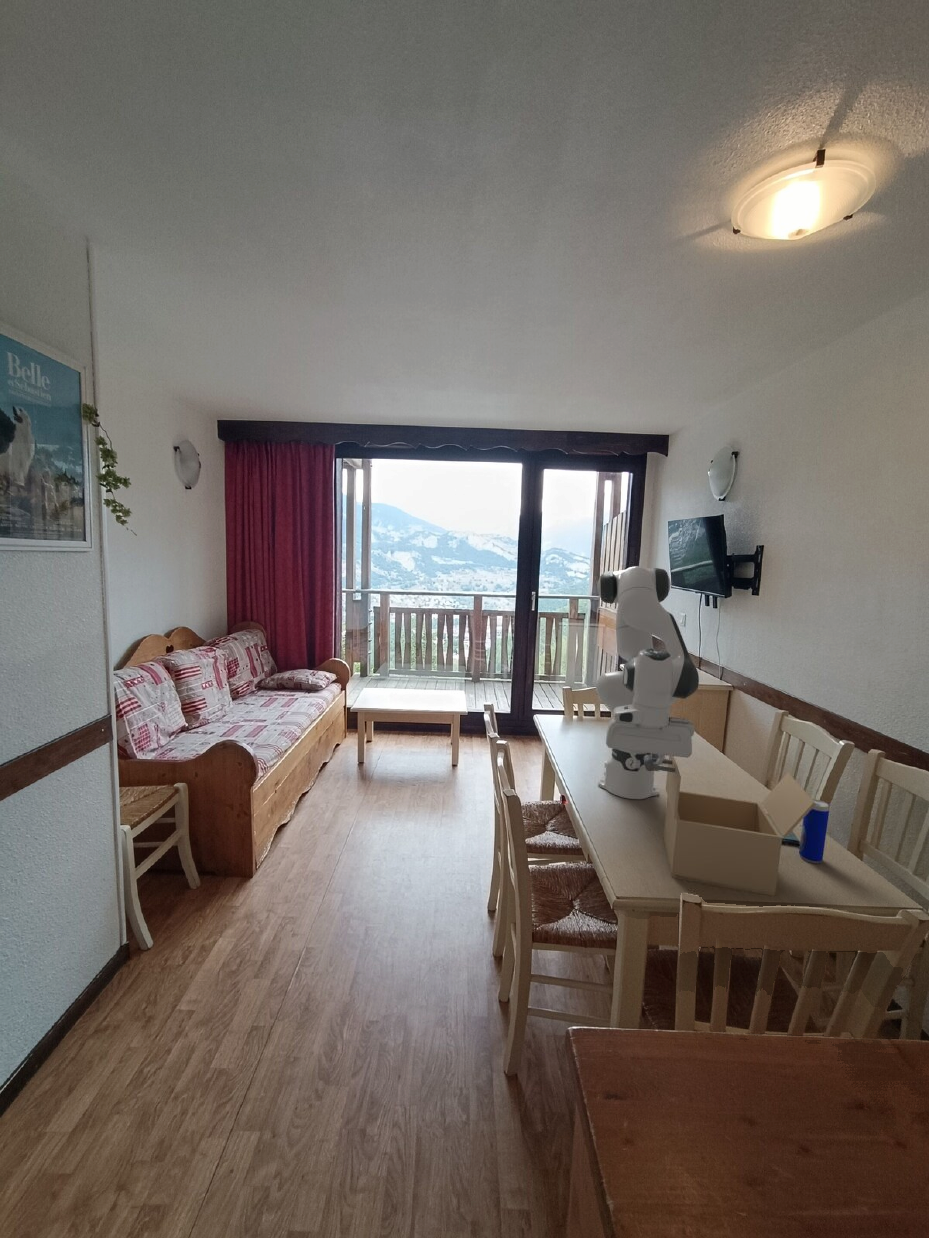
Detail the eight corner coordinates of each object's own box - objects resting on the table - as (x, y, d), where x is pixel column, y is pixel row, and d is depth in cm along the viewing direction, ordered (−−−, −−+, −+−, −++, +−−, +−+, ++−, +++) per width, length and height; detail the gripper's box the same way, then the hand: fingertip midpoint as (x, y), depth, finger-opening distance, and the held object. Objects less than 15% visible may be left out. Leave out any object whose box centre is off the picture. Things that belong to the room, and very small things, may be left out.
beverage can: (800, 850, 141) (807, 796, 139) (823, 858, 137) (830, 802, 136) (797, 858, 137) (804, 802, 135) (821, 866, 133) (828, 809, 132)
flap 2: (783, 836, 119) (785, 837, 119) (813, 802, 117) (816, 803, 116) (761, 802, 135) (763, 804, 135) (787, 772, 133) (790, 773, 133)
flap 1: (668, 788, 141) (638, 784, 143) (672, 750, 140) (642, 746, 141) (676, 818, 124) (643, 813, 126) (681, 776, 123) (647, 771, 125)
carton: (663, 838, 143) (668, 789, 141) (753, 854, 138) (759, 802, 136) (671, 876, 126) (677, 820, 124) (774, 896, 120) (782, 837, 119)
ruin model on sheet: (659, 760, 202) (662, 735, 201) (651, 759, 202) (653, 734, 201) (650, 749, 213) (652, 725, 212) (642, 748, 213) (645, 725, 212)
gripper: (693, 716, 132) (688, 770, 134) (608, 707, 137) (604, 759, 139) (697, 723, 126) (692, 779, 128) (608, 713, 131) (604, 767, 133)
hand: (645, 768), depth 133 cm, fingers open, 3 cm apart
